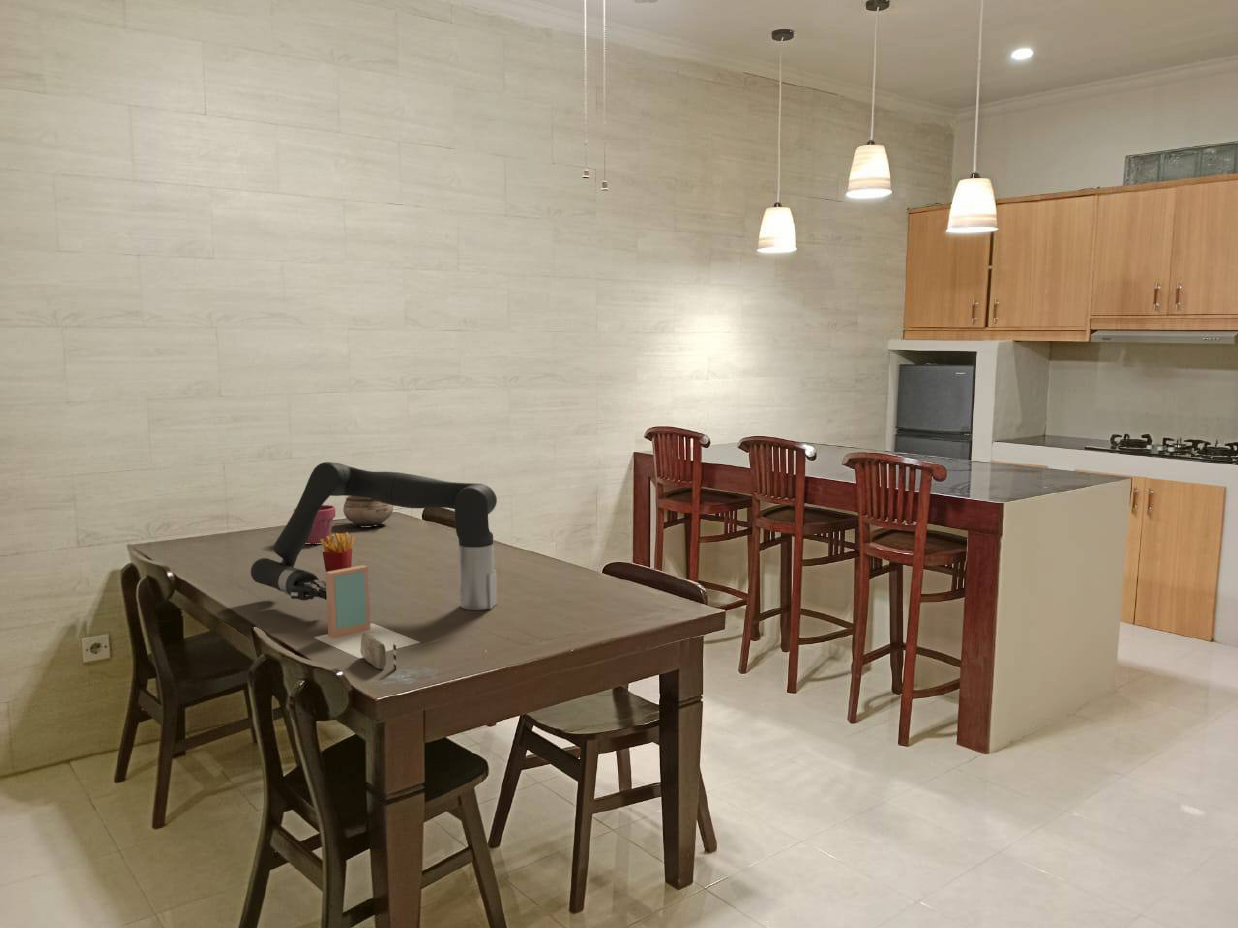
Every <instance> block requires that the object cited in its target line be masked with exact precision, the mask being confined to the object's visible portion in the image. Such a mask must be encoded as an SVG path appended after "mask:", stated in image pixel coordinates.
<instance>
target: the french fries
mask: <svg viewBox="0 0 1238 928" xmlns="http://www.w3.org/2000/svg"><path fill="white" fill-rule="evenodd" d="M334 538H336V542H335V541H334ZM326 539H327V541H328V543H325V541H324V540H323V539H320V541H321V543H322V544H321V545H322V546H323V548H324V551H322V557H323V563H324V569H325V572H329V571H334V570H340V569H345V568H350V567H352V563H353V562H352V561H353V560H352V559H353V548H352V547H353V545H354V541H355V537H354V536H351V537H350V533H349V532H344V535H343V534H341V533H340V534H339V533H338V532H335V533H334V534H332V535H331V536H330V538H329V536H326Z"/></svg>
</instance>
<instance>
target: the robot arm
mask: <svg viewBox="0 0 1238 928" xmlns="http://www.w3.org/2000/svg"><path fill="white" fill-rule="evenodd" d="M304 487H305V488H304V489H303V492H302V494H301V497H300V498H299V500H298V503H297V504H296V507H295V508H296V509H295V508H294V509H295V511H294V510H293V513H292V515H291V517H290V518H289V520H288V521H287V523H286V525H285V527H284V528H283V530H281V533H280V534H279V536H278V538H277V539H276V541H275V543H274V544H273V547H272V549H273V550H272V551H273V552H274V553H275V554H276V555H277V556H279V557H280V558H282V560H281V561H280V562H279V561H276V560H273V559H270V558H268V557H263V558H262V557H261V558H259V559H257V560H255V561H254V562H253V564H252V566H251V568H250V576H251V578H252V580H254V582H255V583H258V584H261V585H264V586H268V587H270V588H273V589H276V590H277V591H279V592H282V593H284V594H286V595H287V596H289V597H290V599H293V600H300V601H308V600H313V599H323V600H325V601H327V595H326V581H323V580H320V579H319V578H318V577H317V575H316V574H315V573H313V572H310V571H308V570H304V569H302V568H297V567H295V564H296V561H297V558H298V556H299V554H300V553H301V552H302V549H303V548H304V547H305V545H306V544H305V543H306V542H307V540H308V538H309V536H310V534H311V532H312V529H313V525H314V521H315V518H316V515H317V513H318V511H319V509H320V508H321V506H322V505H324V503H326V501H327V500H328V499H329V498H330V497H332V496H333V497H340V496H341V497H342V496H344V497H345V496H361V497H368V498H371V499H374V500H377V501H379V502H382V503H385V504H389V505H393V507H400V508H407V509H441V508H443V509H452V510H454V523H455V531H456V532H455V533H456V536H457V538H458V554H459V555H458V556H459V557H458V559H459V560H458V561H459V588H460V591H459V593H460V595H459V596H460V608H462V609H463V610H468V611H483V610H484V611H485V610H492V609H493V608H494V607H495V606H496V605H497V604H498V587H497V586H498V585H497V584H498V583H497V574H498V573H497V569H495V558H494V557H495V556H494V552H495V551H494V535H493V532H492V531H491V530H490V526H489V514H491V513H492V512H493V511H494V510H495V508H496V506H497V503H498V499H497V495H496V493H495V491H494V490H493V489H492V488H491V487H490V486H488V485H486V484H483V483H478V482H477V483H473V482H472V483H471V482H455V481H454V482H452V481H446V480H442V479H437V478H432V477H427V476H424V475H423V476H422V475H417V474H411V473H406V472H396V471H371V470H370V471H369V470H366V469H361V468H356V467H353V466H350V465H346V464H343V463H340V462H331V461H324V462H321V463H318V464H317V465H316V466H315V467H314V468H313V470H312V471H311V474H310V475H309V478H308V480H307V483H306V485H305V486H304Z"/></svg>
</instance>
